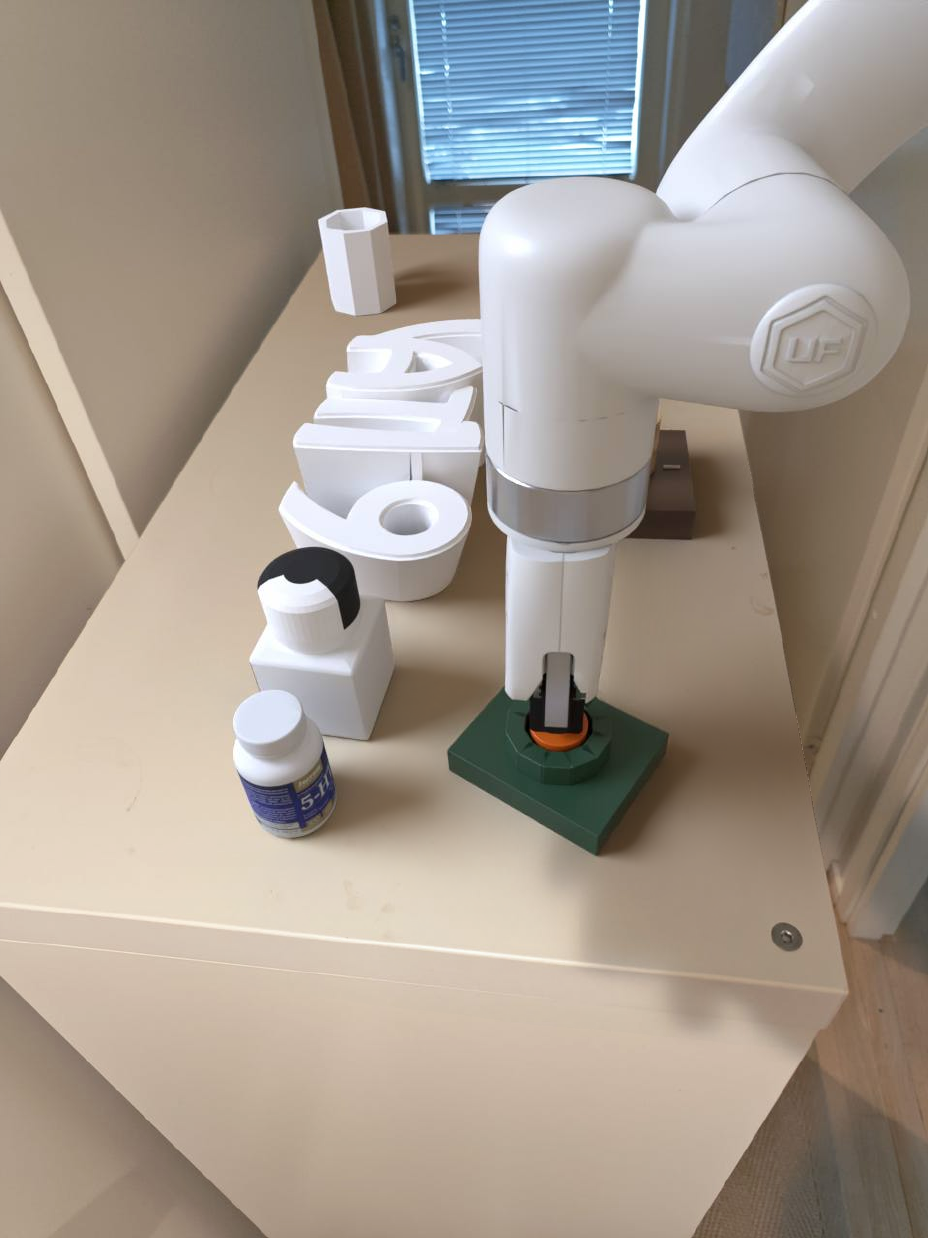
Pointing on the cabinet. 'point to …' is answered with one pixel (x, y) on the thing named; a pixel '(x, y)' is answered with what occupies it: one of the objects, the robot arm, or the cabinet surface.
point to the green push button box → (561, 767)
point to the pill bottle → (283, 764)
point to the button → (560, 739)
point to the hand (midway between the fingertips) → (556, 722)
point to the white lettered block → (395, 458)
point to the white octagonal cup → (358, 260)
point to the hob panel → (669, 492)
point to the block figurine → (324, 641)
